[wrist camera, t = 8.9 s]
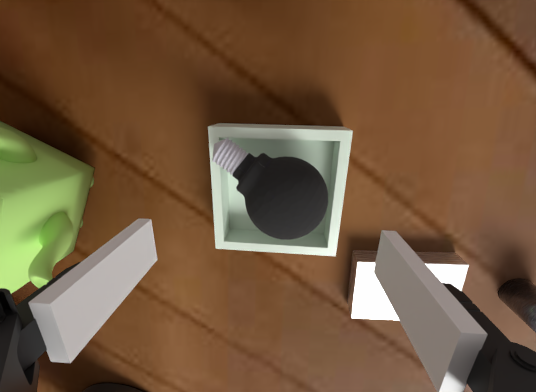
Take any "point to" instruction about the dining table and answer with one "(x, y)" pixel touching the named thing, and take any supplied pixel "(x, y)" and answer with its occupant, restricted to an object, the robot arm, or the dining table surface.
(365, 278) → the white stone flat block
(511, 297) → the cylinder
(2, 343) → the robot arm
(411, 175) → the dining table surface
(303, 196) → the light bulb
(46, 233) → the kettle
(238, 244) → the tray
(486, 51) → the dining table surface
